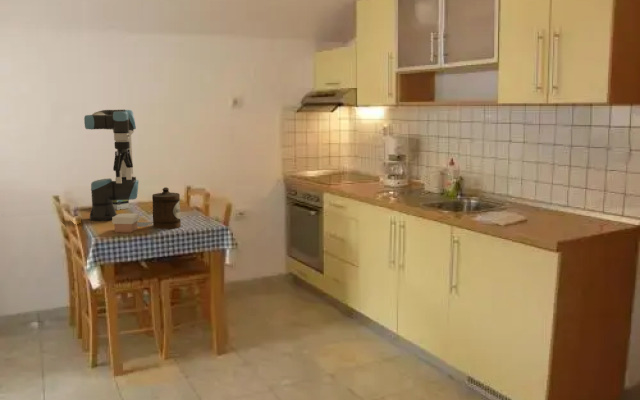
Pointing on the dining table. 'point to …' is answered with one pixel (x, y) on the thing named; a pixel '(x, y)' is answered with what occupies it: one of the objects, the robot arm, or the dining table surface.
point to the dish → (125, 228)
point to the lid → (125, 218)
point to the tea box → (120, 204)
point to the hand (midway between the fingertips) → (124, 181)
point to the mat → (143, 224)
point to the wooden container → (166, 210)
